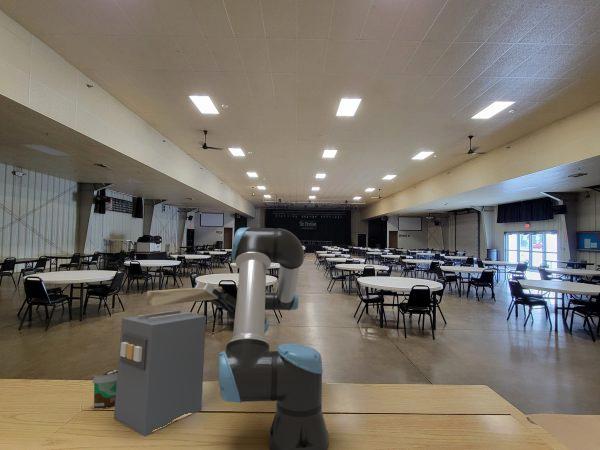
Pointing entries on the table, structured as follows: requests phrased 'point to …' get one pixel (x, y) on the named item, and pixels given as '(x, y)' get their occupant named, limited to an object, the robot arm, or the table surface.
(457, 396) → the table surface
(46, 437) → the table surface
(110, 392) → the food container
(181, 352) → the cabinet
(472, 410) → the table surface
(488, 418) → the table surface
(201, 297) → the switch bar
